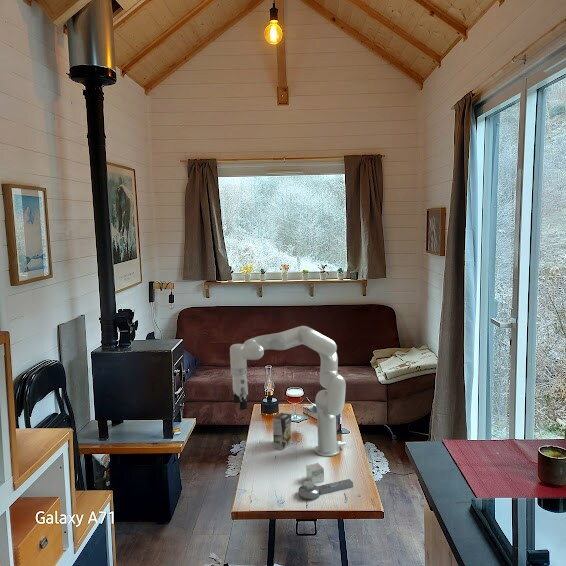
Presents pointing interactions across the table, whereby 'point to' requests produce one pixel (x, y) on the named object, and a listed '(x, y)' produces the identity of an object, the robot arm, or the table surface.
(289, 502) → the table surface
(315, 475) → the brushed grey cube
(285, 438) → the coffee box
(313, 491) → the ratchet
